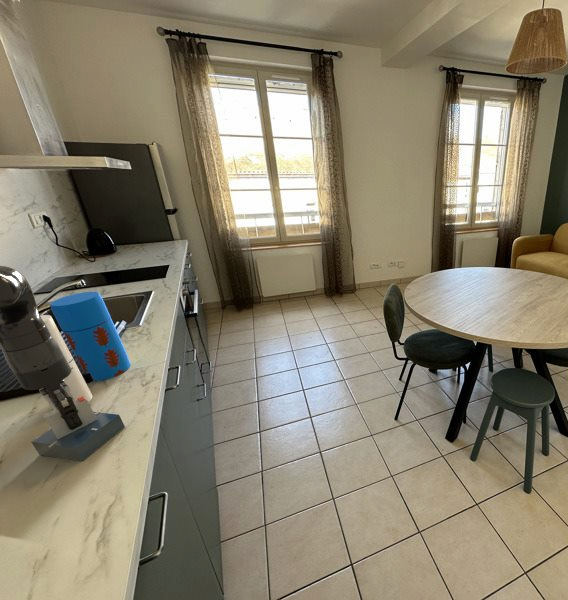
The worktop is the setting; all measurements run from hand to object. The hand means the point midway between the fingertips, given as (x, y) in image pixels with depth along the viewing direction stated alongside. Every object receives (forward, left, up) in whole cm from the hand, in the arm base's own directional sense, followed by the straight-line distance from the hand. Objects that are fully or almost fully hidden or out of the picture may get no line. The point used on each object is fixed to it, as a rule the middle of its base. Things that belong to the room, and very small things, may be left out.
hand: (74, 424), depth 75 cm
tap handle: (0, 0, -1) cm, 1 cm away
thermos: (-22, +25, -5) cm, 34 cm away
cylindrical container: (-17, +11, -5) cm, 21 cm away
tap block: (0, 0, -5) cm, 5 cm away
